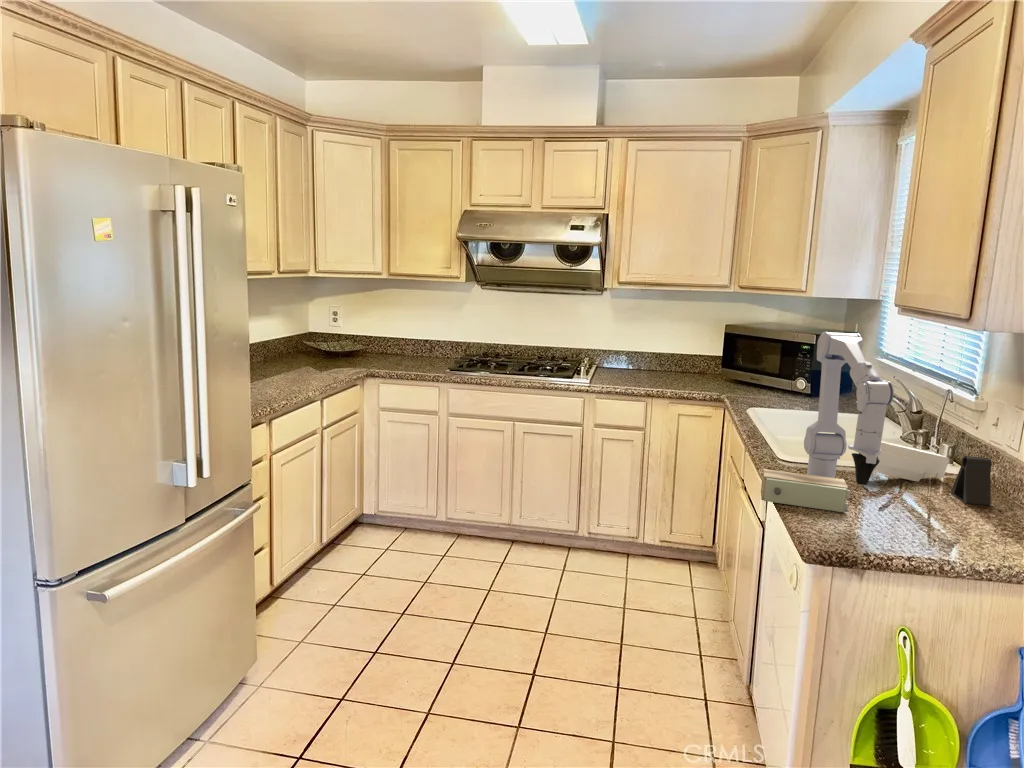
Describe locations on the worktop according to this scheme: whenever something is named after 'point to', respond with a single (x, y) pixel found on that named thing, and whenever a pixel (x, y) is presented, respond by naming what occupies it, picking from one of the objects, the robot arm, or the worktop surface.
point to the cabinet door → (806, 495)
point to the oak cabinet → (800, 479)
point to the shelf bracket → (910, 462)
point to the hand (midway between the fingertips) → (861, 483)
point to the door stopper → (973, 481)
